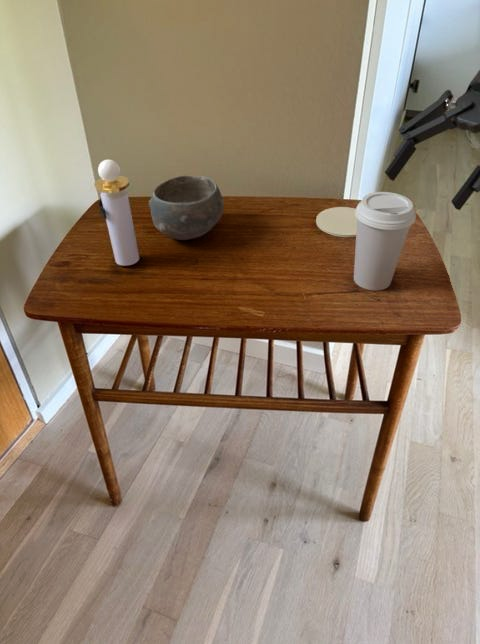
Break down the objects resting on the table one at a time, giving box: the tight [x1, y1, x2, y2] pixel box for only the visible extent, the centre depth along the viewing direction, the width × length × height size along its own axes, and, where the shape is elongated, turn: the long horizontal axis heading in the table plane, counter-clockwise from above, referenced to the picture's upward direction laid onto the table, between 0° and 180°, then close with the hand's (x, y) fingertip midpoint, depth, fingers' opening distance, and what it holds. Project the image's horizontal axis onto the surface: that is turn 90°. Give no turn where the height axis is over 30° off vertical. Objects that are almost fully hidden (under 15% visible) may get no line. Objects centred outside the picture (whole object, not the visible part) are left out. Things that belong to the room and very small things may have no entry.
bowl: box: [148, 174, 225, 241], centre depth 97 cm, size 14×15×10 cm
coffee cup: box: [353, 191, 417, 292], centre depth 81 cm, size 10×10×15 cm
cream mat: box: [315, 206, 357, 239], centre depth 102 cm, size 12×12×1 cm
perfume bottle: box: [93, 158, 140, 267], centre depth 86 cm, size 6×6×20 cm
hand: (420, 190), depth 80 cm, fingers open, 13 cm apart
